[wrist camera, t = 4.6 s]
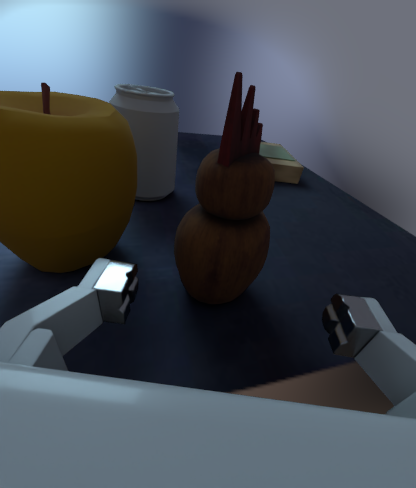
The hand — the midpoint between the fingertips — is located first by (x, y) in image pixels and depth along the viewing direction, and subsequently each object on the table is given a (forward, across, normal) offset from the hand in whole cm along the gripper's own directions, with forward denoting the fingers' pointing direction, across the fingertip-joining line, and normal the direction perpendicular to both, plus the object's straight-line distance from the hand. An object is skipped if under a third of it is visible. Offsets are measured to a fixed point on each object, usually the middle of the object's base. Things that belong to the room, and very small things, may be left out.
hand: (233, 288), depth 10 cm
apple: (+9, +12, +8) cm, 17 cm away
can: (+23, +10, +8) cm, 27 cm away
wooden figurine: (+8, 0, +8) cm, 11 cm away
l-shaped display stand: (+42, -8, +8) cm, 43 cm away
